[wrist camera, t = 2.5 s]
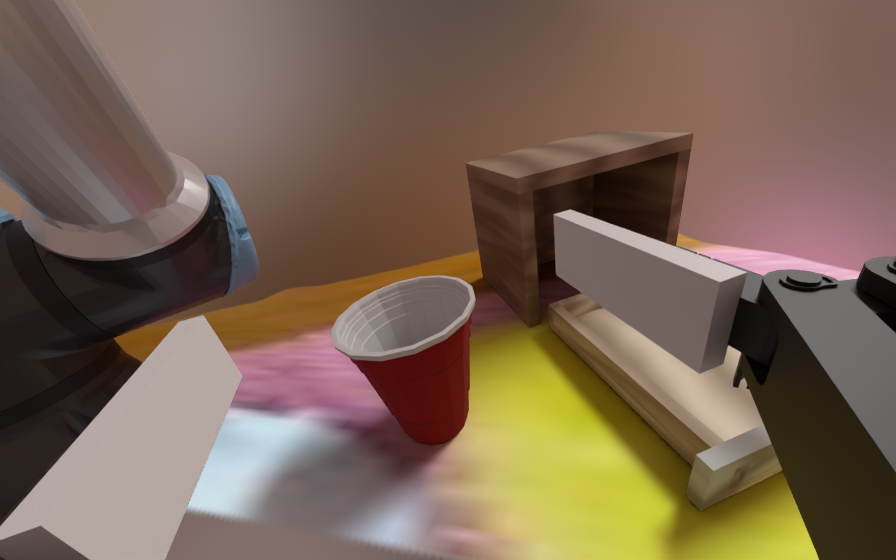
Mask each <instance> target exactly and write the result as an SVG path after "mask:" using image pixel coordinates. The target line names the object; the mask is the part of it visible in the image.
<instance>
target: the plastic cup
mask: <svg viewBox="0 0 896 560" xmlns="http://www.w3.org/2000/svg"><path fill="white" fill-rule="evenodd" d="M475 300H476V299H475V295H474V291H473V288H472V286H471V285H469V284H468V283H466V282H465V281H463V280H461V279H460V278H454V277H448V276H442V275H440V276H425V277H417V278H413V279H409V280H404V281H400V282H396V283H394V284H391V285H389V286H386V287H384V288H381V289H378V290H376V291H374V292H372V293H370V294H368V295H367V296H365V297H363V298H362V299H360V300H358V301H357V302H355V303H353V304H352V305H351V306H350V307H349V308H348V309H347V310H346V311H345V312H344V313H342V314H341V315H340V316H339V317H338V319H337V321H336V322H335V324H334V326H333V328H332V330H331V332H330V333H331V338H332V342H333V346H334V347H335V348H336V349H337V350H338V351H339V352H341V353H343V354H345V355H347V356H348V357H349V358H350V359H351V360H352V362H353V363H354V364H356V365H357V367H358V368H359V370H360V371H361V372H362V373H363V374H365V376H366V377H367V379H368V380H369V382H370V383H371V385H372V386H373V387H374V389H375V390H376V392H377V393H378V395H379V396H380V397H381V399H382V400H383V402H384V403H385V405H386V406H387V408H388V409H389V410H390V412H391V413H392V415H394V416H395V417H396V418H397V420H398V421H399V423H400V424H401V426H402V427H403V429H404V430H405V432H406V433H407V434H409V436H411V437H412V438H413V439H415V440H416V441H417V442H418V443H423V444H428V445H434V444H439V443H444V442H446V441H448V440H449V439H451V438H453V437H455V436H456V435H457V434H458V433H459V431H460V430H461V429H462V428H463V427H464V424H465V421H466V418H467V414H468V411H469V399H468V391H469V389H470V367H469V338H470V325H471V315H472V310H473V308H474V306H475Z"/></svg>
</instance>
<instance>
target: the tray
mask: <svg viewBox="0 0 896 560" xmlns="http://www.w3.org/2000/svg"><path fill="white" fill-rule="evenodd" d="M548 313H549V327H550V328H551V329H552V330H553V331H554V332H555V333H556V334H557V335H558V336H559V337H560V338H561V339H562V340H563V341H564V342H565V343H566V344H567V345H568V346H569V347H570V348H571V349H573V350H574V351H575V352H576V353H577V354H578V355H579V356H580V357H581V358H582V359H583V360H584V361H585V362H586V363H587V364H588V365H589V366H590V367H591V368H592V369H593V370H594V371H595V372H596V373H597V374H598V375H599V376H600V377H601V378H602V379H603V380H604V381H605V382H606V383H607V384H608V385H609V386H610V387H611V388H612V389H613V390H614V391H615V392H616V393H617V394H618V395H619V396H620V397H621V398H622V399H623V400H624V401H625V402H627V403H628V404H629V405H630V406H631V407H632V408H633V409H634V410H635V411H636V412H637V413H638V414H639V415H640V416H641V417H642V418H643V419H644V420H645V421H646V422H647V423H648V424H649V425H650V426H651V427H652V428H653V429H654V430H655V431H656V432H657V433H658V434H659V435H660V436H661V437H662V438H663V439H664V440H665V441H666V442H667V443H668V444H669V445H670V446H671V447H672V448H673V449H674V450H675V451H676V452H677V453H678V454H680V455H681V456H682V457H683V458H684V459H685V460H686V461H687V462H688V463H689V464H690V465H691V466H692V467H693V468H692V472H691V475H690V479H689V482H688V486H687V490H686V493H685V495H686V496H687V497H688V498H689V499H690V500H691V501H692V502H693V503H694V505H695V506H696V507H697V508H698V509H699V510H700V511H701V510H703V509H705V508H707V507H709V506H712V505H714V504H716V503H718V502H720V501H722V500H724V499H726V498H728V497H730V496H732V495H734V494H736V493H738V492H740V491H742V490H744V489H746V488H748V487H750V486H752V485H754V484H756V483H758V482H760V481H763V480H765V479H767V478H769V477H771V476H773V475H775V474H777V473H779V472H781V471H783V470H782V468H781V465H780V463H779V460H778V458H777V456H776V453H775V451H774V448H773V446H772V443H771V441H770V439H769V436H768V434H767V431H766V429H765V426H764V424H763V422H762V419H761V417H760V414H759V412H758V409H757V407H756V405H755V402H754V400H753V397H752V395H751V392H750V390H749V389H746V387H747V383H746V380H745V378H744V379H742V380H741V381H740V384H739V388H735V387H733V379H734V375H735V372H736V368H737V365H738V361H739V358H740V355H741V352H740V351H738V350H736V349H734V348H732V347H731V346H729V345H728V348H727V352H726V356H725V360H724V363H723V365H720V366H718V367H715V368H713V369H710V370H708V371H706V372H703V373H701V374H699V373H697V372H696V371H694V370H693V369H692V368H690V367H689V366H687V365H686V364H684V363H683V362H681V361H680V360H678V359H677V358H676V357H674V356H673V355H671V354H670V353H668V352H667V351H665V350H664V349H663V348H661V347H660V346H658V345H657V344H655V343H654V342H652V341H651V340H650V339H648V338H647V337H645V336H644V335H642V334H641V333H639V332H638V331H636V330H635V329H634V328H632V327H631V326H629V325H628V324H626V323H625V322H623V321H622V320H621V319H619V318H618V317H616V316H615V315H613V314H612V313H610V312H609V311H608V310H606V309H605V308H603V307H602V306H600V305H599V304H597V303H596V302H594V301H593V300H592V299H590V298H589V297H587V296H586V295H584V294H583V293H581V294H578V295H575V296H572V297H569V298H566V299H563V300H560V301H557V302H554V303H551V304H548Z"/></svg>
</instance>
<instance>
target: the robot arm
mask: <svg viewBox="0 0 896 560" xmlns="http://www.w3.org/2000/svg"><path fill="white" fill-rule="evenodd" d="M0 181H2V182H3V183H4V184H6V185H7V186H8V187H9V188H10V189H12V190H13V191H14V192H16V193H17V194H18V195H19V196H21V197H22V198H23V199H24V200H23V203H22V206H21V220H19V221H16V219H17V218H16V217H15V216H14V215H13V214H11V213H9V212H6V211H5V210H4V209H2V208H0V560H165V558H166V556H167V553H168V551H169V549H170V546H171V544H172V541H173V539H174V537H175V534H176V532H177V530H178V527H179V525H180V523H181V520H182V518H183V515H184V513H185V511H186V508H187V506H188V504H189V501H190V499H191V497H192V494H193V492H194V489H195V487H196V485H197V482H198V480H199V478H200V475H201V473H202V471H203V468H204V466H205V463H206V461H207V459H208V456H209V454H210V452H211V449H212V447H213V445H214V442H215V440H216V437H217V435H218V433H219V430H220V428H221V426H222V423H223V421H224V419H225V416H226V414H227V411H228V409H229V407H230V404H231V402H232V400H233V397H234V395H235V392H236V390H237V388H238V385H239V383H240V381H241V378H242V374H241V373H240V371H239V369H238V368H237V366H236V365H235V363H234V362H233V360H232V359H231V357H230V356H229V354H228V352H227V351H226V349H225V348H224V346H223V345H222V343H221V342H220V340H219V339H218V337H217V336H216V334H215V332H214V331H213V329H212V328H211V326H210V325H209V323H208V322H207V320H206V319H205V317H204V315H202V316H199V317H195V318H192V319H188V320H185V321H181V322H178V324H177V325H176V326H175V327H174V328H173V329H172V330H171V332H170V333H169V334H168V335H167V336H166V337H165V338H164V340H163V341H162V342H161V343H160V344H159V345H158V346H157V348H156V349H155V350H154V351H153V352H152V353H151V354H150V356H149V357H148V358H147V359H146V360H145V361H144V362H141V361H139V360H138V359H136V358H134V357H132V356H131V355H129V354H127V353H126V352H125V351H124V350H123V349H122V348H121V347H120V346H119V344H118V343H117V342H116V341H115V340H114V339H113V338H115V337H117V336H120V335H123V334H125V333H128V332H130V331H133V330H135V329H138V328H140V327H143V326H145V325H148V324H151V323H153V322H156V321H158V320H161V319H164V318H166V317H169V316H171V315H174V314H177V313H180V312H182V311H185V310H188V309H190V308H193V307H195V306H198V305H201V304H204V303H206V302H209V301H211V300H214V299H217V298H220V297H225V296H228V295H229V294H230V293H232V291H235V290H237V289H239V288H242V287H244V286H246V285H248V284H250V283H252V282H253V281H254V280H255V279H256V277H257V275H258V272H259V264H258V259H257V255H256V251H255V247H254V244H253V241H252V239H251V236H250V234H249V233H248V231H247V226H246V223H245V220H244V217H243V215H242V212H241V210H240V208H239V206H238V203H237V201H236V199H235V197H234V195H233V193H232V191H231V190H230V188H229V186H228V185H227V183H226V182H225V180H224V179H223V178H221V177H219V176H216V175H205V174H204V175H203V173H202V172H201V171H200V170H199V169H198V168H197V167H196V166H195V165H194V164H193V163H192V162H190V161H188V160H187V159H185V158H183V157H181V156H179V155H177V154H174V153H171V152H168V151H166V150H165V148H164V146H163V145H162V143H161V141H160V140H159V138H158V136H157V135H156V133H155V131H154V130H153V128H152V127H151V125H150V124H149V122H148V120H147V118H146V117H145V115H144V114H143V112H142V110H141V109H140V107H139V105H138V104H137V102H136V100H135V99H134V97H133V96H132V94H131V92H130V91H129V89H128V87H127V86H126V84H125V82H124V81H123V79H122V78H121V76H120V74H119V73H118V71H117V69H116V68H115V66H114V64H113V63H112V61H111V59H110V58H109V56H108V54H107V53H106V51H105V50H104V48H103V46H102V45H101V43H100V42H99V40H98V38H97V36H96V35H95V33H94V32H93V30H92V28H91V27H90V25H89V23H88V22H87V20H86V18H85V17H84V15H83V14H82V12H81V10H80V9H79V7H78V5H77V4H76V2H75V1H74V0H0ZM553 216H554V240H555V264H556V275H557V276H558V277H560V278H561V279H563V280H564V281H566V282H567V283H568V284H570V285H571V286H573V287H574V288H576V289H577V290H579V291H580V292H581V293H583V294H584V295H586V296H587V297H589V298H590V299H592V300H593V301H594V302H596V303H597V304H599V305H600V306H602V307H603V308H605V309H606V310H608V311H609V312H610V313H612V314H613V315H615V316H616V317H618V318H619V319H621V320H622V321H623V322H625V323H626V324H628V325H629V326H631V327H632V328H634V329H635V330H636V331H638V332H639V333H641V334H642V335H644V336H645V337H647V338H648V339H650V340H651V341H652V342H654V343H655V344H657V345H658V346H660V347H661V348H663V349H664V350H665V351H667V352H668V353H670V354H671V355H673V356H674V357H676V358H677V359H678V360H680V361H681V362H683V363H684V364H686V365H687V366H689V367H690V368H692V369H693V370H694V371H696V372H697V373H699V374H701V373H703V372H706V371H708V370H710V369H713V368H715V367H718V366H720V365H723V363H724V360H725V356H726V352H727V348H728V345H729V346H731V347H732V348H734V349H736V350H738V351H740V352H741V355H740V358H739V361H738V365H737V368H736V372H735V375H734V379H733V387H735V388H739V384H740V381H741V380H742V379H744V378H745V380H746V383H747V387H746V389H749V390H750V392H751V395H752V397H753V400H754V402H755V405H756V407H757V409H758V412H759V414H760V417H761V419H762V422H763V424H764V426H765V429H766V431H767V434H768V436H769V439H770V441H771V443H772V446H773V448H774V451H775V453H776V456H777V458H778V460H779V463H780V465H781V468H782V470H783V472H784V475H785V477H786V480H787V482H788V485H789V487H790V489H791V492H792V494H793V497H794V499H795V502H796V504H797V506H798V509H799V511H800V514H801V516H802V519H803V521H804V523H805V526H806V528H807V531H808V533H809V536H810V538H811V540H812V543H813V545H814V548H815V550H816V552H817V555H818V557H819V560H896V257H878V258H872V259H870V260H868V261H866V262H865V264H864V266H863V268H862V271H861V273H860V275H859V277H858V279H852V280H844V281H838V280H836V279H834V278H832V277H830V276H826V275H823V274H819V273H814V272H809V271H802V270H776V271H773V272H769V273H767V274H766V275H765V276H763V275H760V274H757V273H754V272H751V271H748V270H745V269H742V268H740V267H737V266H734V265H731V264H728V263H725V262H722V261H720V260H717V259H711V258H710V257H708V256H705V255H702V254H697V252H694V251H691V250H688V249H685V248H682V247H678V246H672V245H669V244H666V243H664V242H661V241H658V240H655V239H652V238H649V237H647V236H644V235H641V234H638V233H635V232H633V231H630V230H627V229H624V228H621V227H618V226H616V225H613V224H610V223H607V222H604V221H601V220H599V219H596V218H593V217H590V216H587V215H585V214H582V213H579V212H576V211H573V210H567V211H563V212H560V213H557V214H553Z"/></svg>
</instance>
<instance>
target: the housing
mask: <svg viewBox="0 0 896 560" xmlns="http://www.w3.org/2000/svg"><path fill="white" fill-rule="evenodd" d="M692 139H693V133H678V132H677V133H676V132H621V131H595V132H592V133H587V134H583V135H579V136H575V137H571V138H566V139H563V140H558V141H554V142H550V143H546V144H542V145H538V146H534V147H529V148H526V149H521V150H517V151H514V152H509V153H505V154H501V155H497V156H493V157H488V158H484V159H480V160H476V161H472V162H468V163H466V168H467V175H468V181H469V188H470V195H471V201H472V208H473V215H474V221H475V227H476V234H477V241H478V247H479V254H480V260H481V267H482V274H483V278H484V279H485V280H486V281H487V282H488V283H489V284H490V285H491V286H492V287H493V288H494V290H495V291H496V292H497V293H498V294H499V295H500V296H501V297H502V298H503V299H504V301H505V302H506V303H507V304H508V305H509V306H510V307H511V308H512V309H513V310H514V311H515V313H516V314H517V315H518V316H519V317H520V318H521V319H522V320H523V321H524V322H525V323H526V325H527V326H528V327H532V326H535V325H538V324H541V318H540V302H539V286H538V270H537V265H540V264H543V263H547V262H550V261H553V260H555V240H554V216H553V214H557V213H560V212H563V211H567V210H573V211H576V212H579V213H582V214H585V215H587V216H590V217H593V218H596V219H599V220H601V221H604V222H607V223H610V224H613V225H616V226H618V227H621V228H624V229H627V230H630V231H633V232H635V233H638V234H641V235H644V236H647V237H649V238H652V239H655V240H658V241H661V242H664V243H666V244H669V245H672V246H676V242H677V236H678V229H679V223H680V216H681V209H682V203H683V196H684V190H685V184H686V178H687V171H688V164H689V158H690V151H691V145H692Z"/></svg>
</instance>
